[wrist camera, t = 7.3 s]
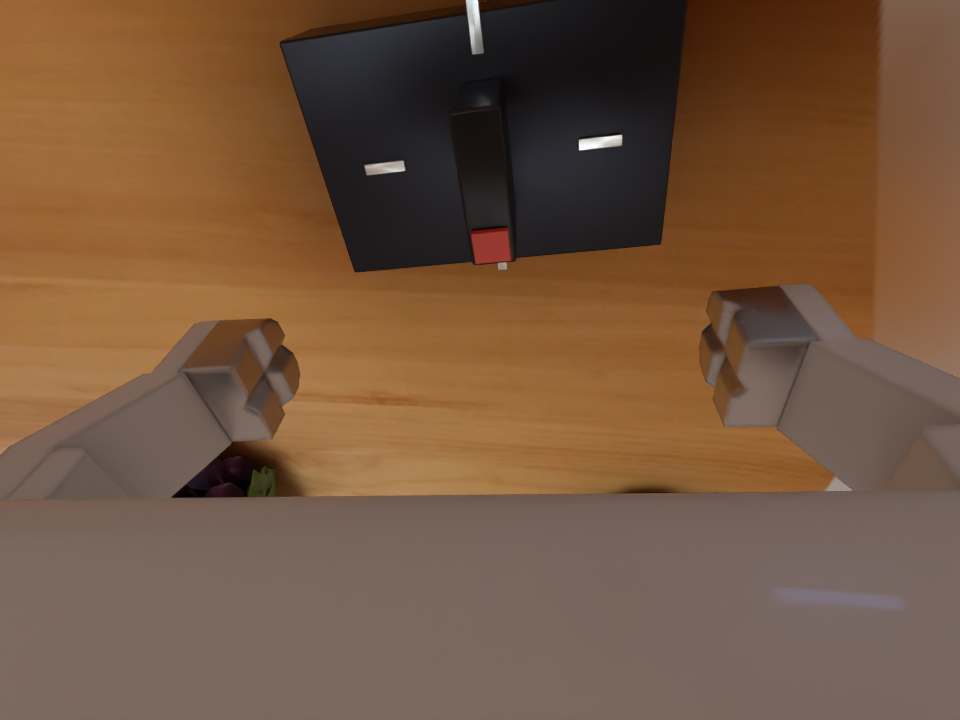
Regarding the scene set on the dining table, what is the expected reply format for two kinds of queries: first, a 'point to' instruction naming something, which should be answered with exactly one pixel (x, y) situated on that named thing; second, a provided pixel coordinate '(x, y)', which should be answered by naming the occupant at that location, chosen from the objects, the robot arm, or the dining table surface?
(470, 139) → the oven knob
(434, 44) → the knob panel
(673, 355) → the dining table surface
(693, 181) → the dining table surface
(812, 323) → the robot arm
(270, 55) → the dining table surface
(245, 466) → the fruit
